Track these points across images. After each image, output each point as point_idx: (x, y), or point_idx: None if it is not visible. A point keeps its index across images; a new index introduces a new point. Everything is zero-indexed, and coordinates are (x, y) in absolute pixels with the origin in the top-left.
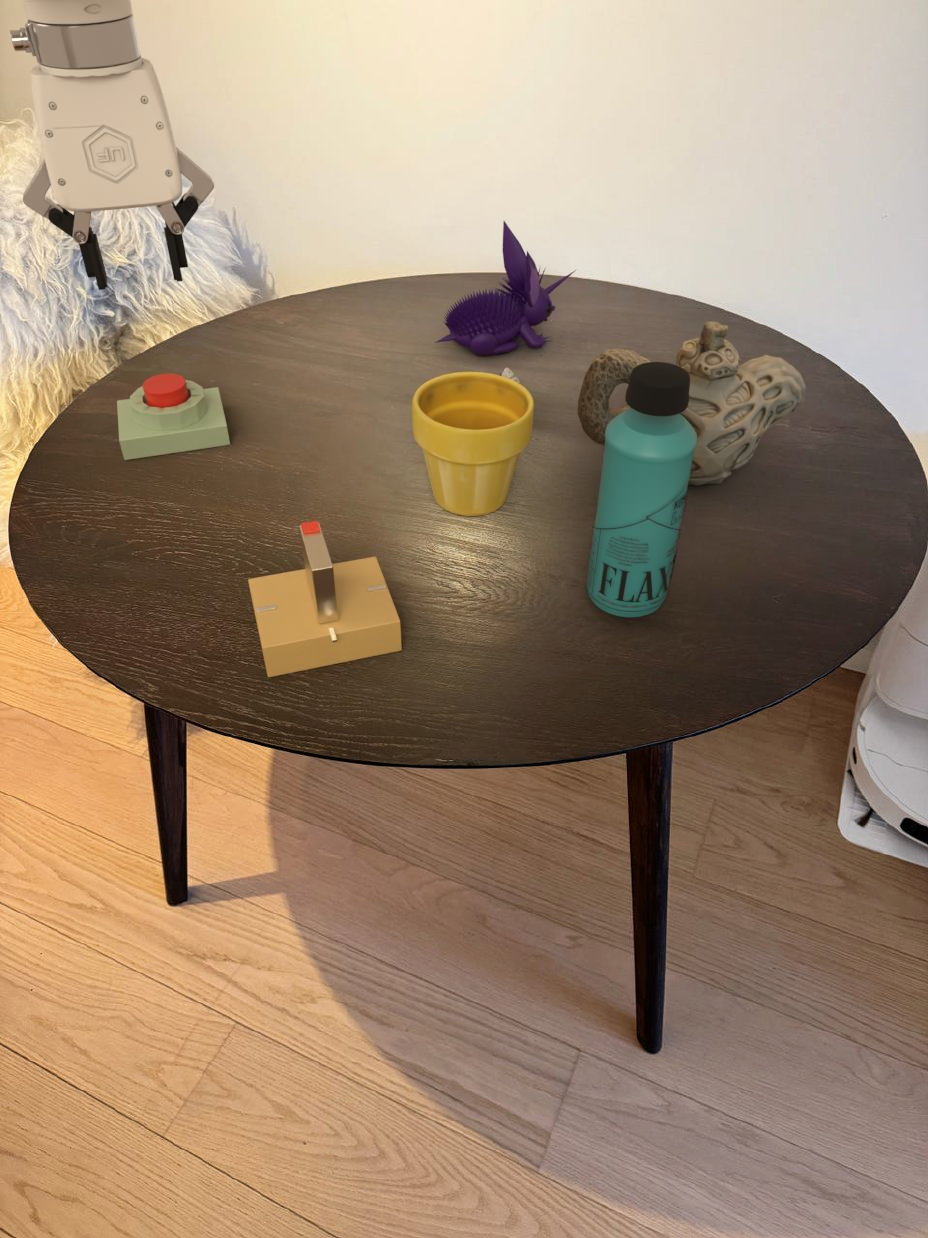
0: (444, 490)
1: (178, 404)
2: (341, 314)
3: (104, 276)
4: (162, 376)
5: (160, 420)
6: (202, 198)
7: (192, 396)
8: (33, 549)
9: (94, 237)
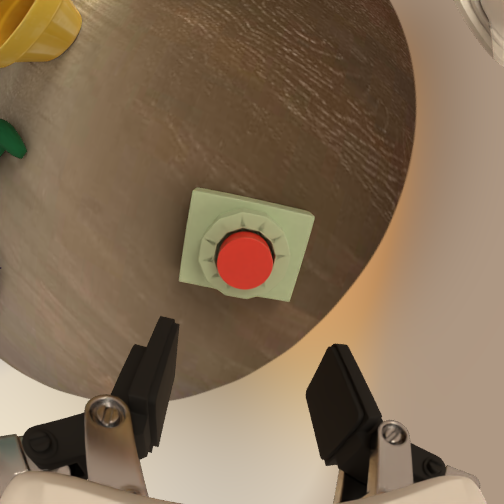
0: (74, 7)
1: (237, 233)
2: (65, 363)
3: (332, 365)
4: (241, 282)
5: (266, 215)
6: (9, 440)
7: (216, 241)
8: (409, 115)
9: (337, 447)
